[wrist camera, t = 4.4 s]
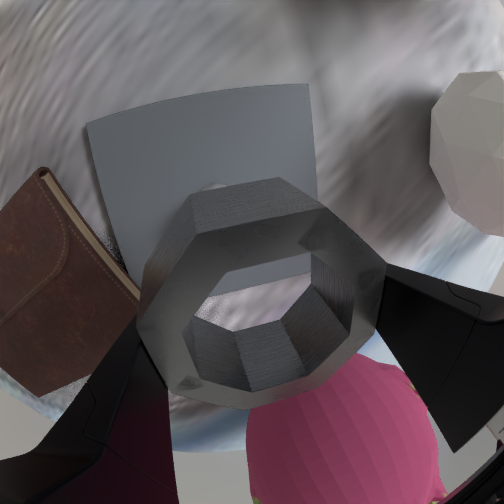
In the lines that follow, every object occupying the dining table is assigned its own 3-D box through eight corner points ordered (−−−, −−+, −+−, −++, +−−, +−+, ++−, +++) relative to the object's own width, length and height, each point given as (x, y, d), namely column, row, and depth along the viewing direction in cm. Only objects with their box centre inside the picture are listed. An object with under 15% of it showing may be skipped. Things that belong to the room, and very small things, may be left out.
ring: (334, 168, 9) (393, 195, 6) (331, 321, 12) (365, 368, 9) (127, 208, 8) (104, 255, 5) (182, 361, 11) (189, 421, 8)
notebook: (172, 323, 21) (173, 341, 19) (43, 388, 22) (39, 402, 20) (46, 163, 14) (32, 170, 12) (-51, 294, 15) (-60, 305, 13)
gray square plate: (304, 84, 16) (331, 79, 13) (315, 265, 23) (336, 289, 20) (88, 122, 14) (68, 125, 11) (144, 306, 21) (141, 338, 18)
